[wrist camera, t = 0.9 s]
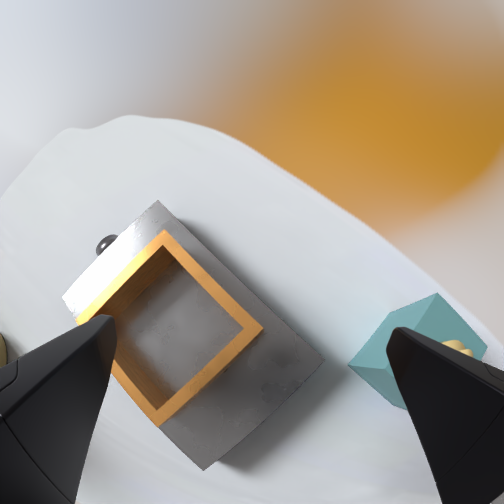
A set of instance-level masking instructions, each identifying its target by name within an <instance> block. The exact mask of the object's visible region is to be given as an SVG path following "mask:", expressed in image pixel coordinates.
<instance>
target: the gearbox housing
mask: <svg viewBox="0 0 504 504" xmlns="http://www.w3.org/2000/svg"><path fill="white" fill-rule="evenodd" d="M96 254H97V255H98V258H97V259H96V260H95V261H94V263H93V264H92V265H91V266H90V267H89V268H88V269H87V270H86V271H85V272H84V273H83V274H82V275H81V277H80V278H79V279H78V280H77V281H76V282H75V283H74V284H73V285H72V287H71V288H70V289H69V290H68V291H67V292H66V293H65V295H64V296H63V299H64V301H65V302H66V304H67V306H68V308H69V309H70V311H71V313H72V314H73V316H74V318H75V319H76V322H77V324H78V325H81V324H83V323H85V322H87V321H89V320H91V319H93V318H94V317H96V316H98V315H101V314H103V315H110V316H113V317H114V320H115V327H116V334H117V348H116V352H115V356H114V360H113V365H112V369H111V373H112V374H113V376H114V377H115V378H116V380H117V381H118V382H119V383H120V385H121V386H122V387H123V388H124V390H125V391H126V392H127V393H128V395H129V396H130V397H131V398H132V399H133V401H134V402H135V403H136V404H137V405H138V406H139V408H140V409H141V410H142V411H143V412H144V413H145V414H146V416H147V417H148V418H149V419H150V420H151V421H152V422H153V423H154V424H155V425H156V427H158V428H159V429H160V430H161V431H162V432H163V433H164V434H165V435H166V436H167V437H168V438H169V439H170V440H171V441H172V442H173V443H174V444H175V445H176V446H177V447H178V448H179V449H180V450H181V451H182V452H183V453H184V454H185V455H186V456H187V457H188V458H190V459H191V460H192V461H193V462H194V463H195V464H196V465H197V466H198V467H199V468H201V469H202V470H203V471H204V470H205V469H207V468H208V467H209V466H210V465H212V464H213V463H214V462H216V461H217V460H218V459H219V458H221V457H222V456H223V455H224V454H226V453H227V452H228V451H229V450H231V449H232V448H233V447H234V446H235V445H237V444H238V443H239V442H240V441H241V440H243V439H244V438H245V437H246V436H247V435H248V434H250V433H251V432H252V431H253V430H254V429H255V428H256V427H258V426H259V425H260V424H261V423H262V422H263V421H264V420H265V419H266V418H267V417H269V416H270V415H271V414H272V413H273V412H274V411H275V410H276V409H277V408H278V407H279V406H280V405H281V404H282V403H283V402H284V401H285V400H286V399H287V398H289V397H290V396H291V395H292V394H293V393H294V392H295V391H296V390H297V389H298V388H299V387H300V386H301V385H302V383H303V382H304V381H305V380H306V379H307V378H308V377H309V376H310V375H311V374H312V373H313V372H314V371H315V370H316V369H317V368H318V367H319V366H320V365H321V363H322V362H323V361H324V360H325V359H324V358H323V357H322V356H321V355H320V354H318V353H317V352H316V351H315V350H314V349H313V348H312V347H311V346H310V345H308V344H307V343H306V342H305V341H304V340H303V339H302V338H301V337H300V336H299V335H298V334H296V333H295V332H294V331H293V330H292V329H291V328H290V327H289V326H288V325H287V324H286V323H285V322H284V321H282V320H281V319H280V318H279V317H278V316H277V315H276V314H275V313H274V312H273V311H272V310H271V309H270V308H268V307H267V306H266V305H265V304H264V303H263V302H262V301H261V300H260V299H259V298H258V297H257V296H256V295H255V294H254V293H253V292H252V291H250V290H249V289H248V288H247V287H246V286H245V285H244V284H243V283H242V282H241V281H240V280H239V279H238V278H237V277H236V276H235V275H234V274H233V273H232V272H231V271H230V270H229V269H227V268H226V267H225V266H224V265H223V264H222V263H221V262H220V261H219V260H218V259H217V258H216V257H215V256H214V255H213V254H212V253H211V252H210V251H209V250H208V249H207V248H206V247H205V246H204V245H203V244H202V243H201V242H200V241H199V240H198V239H197V238H196V237H195V236H194V235H193V234H192V233H191V232H190V231H189V230H188V229H187V228H186V227H185V226H184V225H183V224H182V223H181V222H180V221H179V220H178V219H177V218H176V217H175V216H174V215H173V214H172V213H171V212H170V211H169V210H168V209H167V208H166V207H165V206H164V205H163V204H162V203H161V202H160V201H159V200H157V201H156V202H155V203H154V204H153V205H151V206H150V207H149V208H148V209H147V210H146V211H145V212H144V213H143V214H142V215H141V216H140V217H139V218H137V219H136V220H135V221H134V222H133V223H132V224H131V225H130V226H129V227H128V228H127V229H126V230H125V231H124V232H123V233H122V234H121V235H120V236H117V235H109V236H107V237H105V238H104V239H102V240H101V241H100V243H99V244H98V246H97V248H96Z"/></svg>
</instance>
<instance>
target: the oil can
mask: <svg viewBox="0 0 504 504" xmlns="http://www.w3.org/2000/svg"><path fill="white" fill-rule="evenodd" d="M396 327H407V328H409V329H412V330H414V331H416V332H418V333H420V334H422V335H425V336H427V337H429V338H431V339H433V340H436V341H438V342H440V343H442V344H444V345H447V346H449V347H451V348H453V349H455V350H457V351H460V352H462V353H464V354H466V355H468V356H471V357H473V358H475V359H477V360H479V361H481V359H482V357H483V355H484V353H485V351H486V349H487V345H486V344H485V343H484V342H483V341H482V340H481V339H480V337H479V336H478V335H477V334H476V333H475V332H474V331H473V330H472V328H471V327H470V326H469V325H468V324H467V323H466V322H465V321H464V320H463V319H462V318H461V316H460V315H459V314H458V313H457V312H456V311H455V310H454V309H453V308H452V307H451V306H450V305H449V304H448V303H447V302H446V301H445V300H444V299H443V298H442V297H441V296H440V295H439V294H438V293H436V294H433V295H431V296H429V297H427V298H424V299H422V300H420V301H417V302H415V303H413V304H410V305H408V306H405V307H403V308H400V309H398V310H396V311H393V312H390V313H389V314H388V316H387V317H386V318H385V320H384V321H383V322H382V324H381V325H380V326H379V328H378V329H377V330H376V331H375V333H374V334H373V335H372V336H371V338H370V339H369V340H368V341H367V343H366V344H365V345H364V346H363V348H362V349H361V350H360V351H359V352H358V354H357V355H356V356H355V357H354V358H353V359H352V361H351V362H350V363H349V364H348V366H349V367H350V368H352V369H353V370H354V371H355V372H356V373H357V374H358V375H359V376H360V377H362V378H363V379H364V380H365V381H366V382H367V383H368V384H369V385H371V386H372V387H373V388H374V389H375V390H376V391H377V392H379V393H380V394H381V395H382V396H383V397H384V398H385V399H386V400H388V401H389V402H390V403H391V404H392V405H394V406H397V407H400V408H403V409H405V410H407V408H406V405H405V403H404V401H403V398H402V396H401V394H400V391H399V389H398V386H397V384H396V381H395V378H394V375H393V372H392V369H391V366H390V363H389V360H388V357H387V354H386V346H387V343H388V341H389V339H390V336H391V333H392V331H393V329H394V328H396Z"/></svg>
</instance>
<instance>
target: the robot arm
mask: <svg viewBox="0 0 504 504" xmlns="http://www.w3.org/2000/svg"><path fill="white" fill-rule="evenodd" d="M116 348H117V334H116V327H115V320H114V317H113V316H110V315H103V314H101V315H98V316H96V317H94V318H93V319H91V320H89V321H87V322H85V323H83V324H81V325H79V326H77V327H76V328H74V329H72V330H70V331H68V332H66V333H64V334H62V335H60V336H59V337H57V338H55V339H53V340H51V341H49V342H47V343H45V344H44V345H42V346H40V347H38V348H36V349H34V350H32V351H31V352H29V353H27V354H25V355H23V356H21V357H19V358H18V360H17V359H16V360H14V361H12V362H10V363H8V364H7V365H5V366H3V367H1V368H0V504H75V501H76V496H77V491H78V487H79V483H80V479H81V475H82V471H83V467H84V463H85V459H86V455H87V452H88V448H89V445H90V441H91V438H92V434H93V431H94V428H95V424H96V421H97V418H98V415H99V412H100V408H101V405H102V402H103V399H104V396H105V393H106V390H107V387H108V383H109V378H110V374H111V369H112V365H113V360H114V356H115V352H116ZM386 354H387V357H388V360H389V363H390V366H391V369H392V372H393V375H394V378H395V381H396V384H397V386H398V389H399V391H400V394H401V396H402V398H403V401H404V403H405V405H406V408H407V410H408V412H409V415H410V417H411V419H412V422H413V424H414V427H415V429H416V432H417V434H418V437H419V439H420V442H421V444H422V447H423V449H424V452H425V455H426V457H427V460H428V463H429V465H430V468H431V471H432V474H433V476H434V479H435V482H436V486H437V489H438V492H439V495H440V498H441V501H442V504H490V503H491V504H504V371H502V370H500V369H497V368H495V367H493V366H490V365H488V364H486V363H483V362H482V361H479V360H477V359H475V358H473V357H471V356H468V355H466V354H464V353H462V352H460V351H457V350H455V349H453V348H451V347H449V346H447V345H444V344H442V343H440V342H438V341H436V340H433V339H431V338H429V337H427V336H425V335H422V334H420V333H418V332H416V331H414V330H412V329H409V328H407V327H396V328H394V329H393V331H392V333H391V336H390V339H389V341H388V343H387V346H386Z"/></svg>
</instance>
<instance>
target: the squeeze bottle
mask: <svg viewBox="0 0 504 504" xmlns="http://www.w3.org/2000/svg"><path fill="white" fill-rule="evenodd" d="M6 363H7V352H6V346H5V342H4V340H3V337H2V335H1V334H0V368H1V367H3V366H5V365H6Z"/></svg>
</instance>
